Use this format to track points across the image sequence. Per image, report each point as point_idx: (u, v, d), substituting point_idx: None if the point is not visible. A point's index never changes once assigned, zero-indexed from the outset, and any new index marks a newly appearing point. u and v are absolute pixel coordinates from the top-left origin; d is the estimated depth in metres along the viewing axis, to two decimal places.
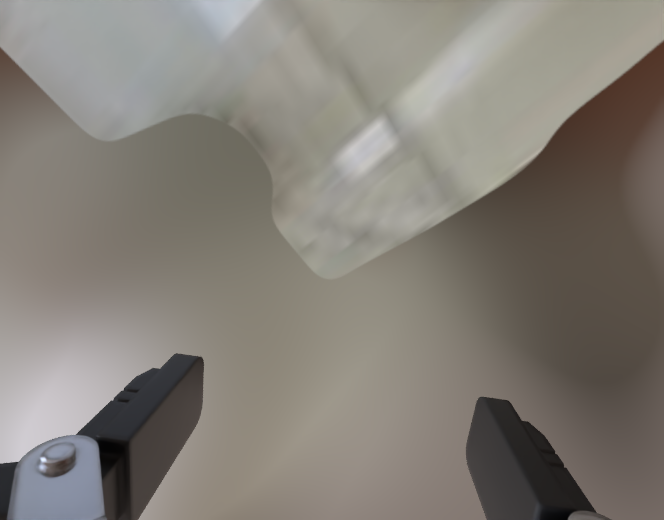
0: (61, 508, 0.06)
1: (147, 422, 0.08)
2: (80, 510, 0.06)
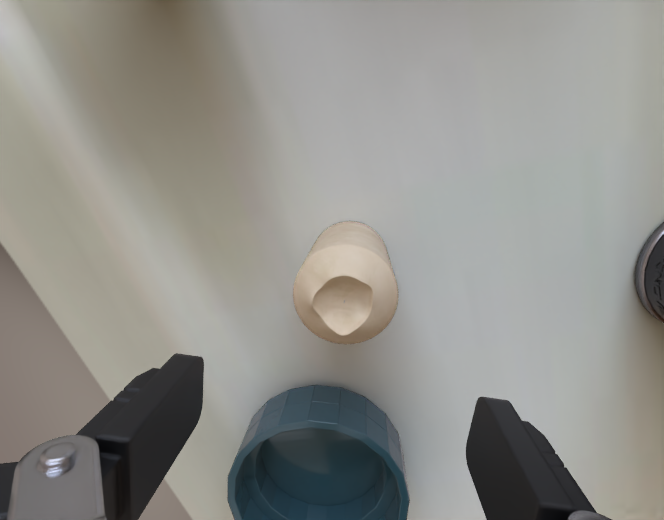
0: (61, 508, 0.06)
1: (147, 422, 0.08)
2: (80, 510, 0.06)
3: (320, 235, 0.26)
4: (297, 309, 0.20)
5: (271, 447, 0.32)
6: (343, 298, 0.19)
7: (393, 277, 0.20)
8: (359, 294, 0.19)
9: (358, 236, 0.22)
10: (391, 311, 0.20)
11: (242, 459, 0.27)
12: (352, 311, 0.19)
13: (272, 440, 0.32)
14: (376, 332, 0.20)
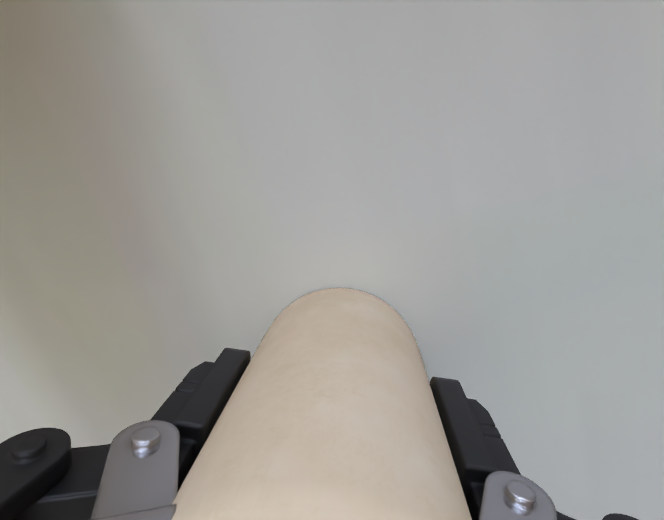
0: (142, 488, 0.06)
1: (214, 410, 0.09)
2: (177, 485, 0.06)
3: (273, 326, 0.12)
4: None
5: None
6: None
7: None
8: None
9: (358, 385, 0.07)
10: None
11: None
12: None
13: None
14: None
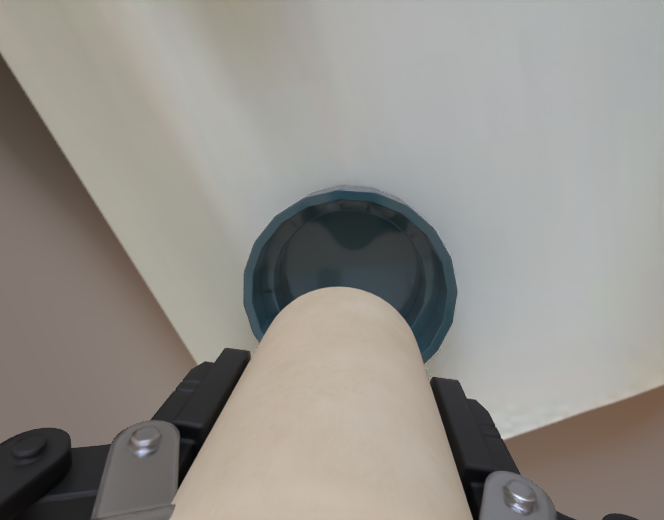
0: (142, 488, 0.06)
1: (214, 410, 0.09)
2: (177, 485, 0.06)
3: (273, 324, 0.12)
4: None
5: (291, 269, 0.28)
6: None
7: None
8: None
9: (358, 383, 0.07)
10: None
11: (261, 247, 0.23)
12: None
13: (292, 260, 0.28)
14: None
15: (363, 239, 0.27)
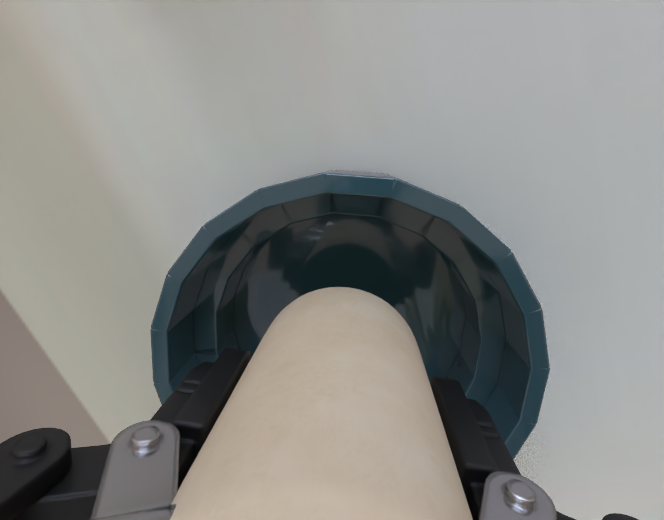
0: (142, 488, 0.06)
1: (214, 410, 0.09)
2: (177, 485, 0.06)
3: (273, 324, 0.12)
4: None
5: (251, 309, 0.17)
6: None
7: None
8: None
9: (358, 383, 0.07)
10: None
11: (179, 282, 0.12)
12: None
13: (253, 295, 0.17)
14: None
15: (370, 261, 0.16)
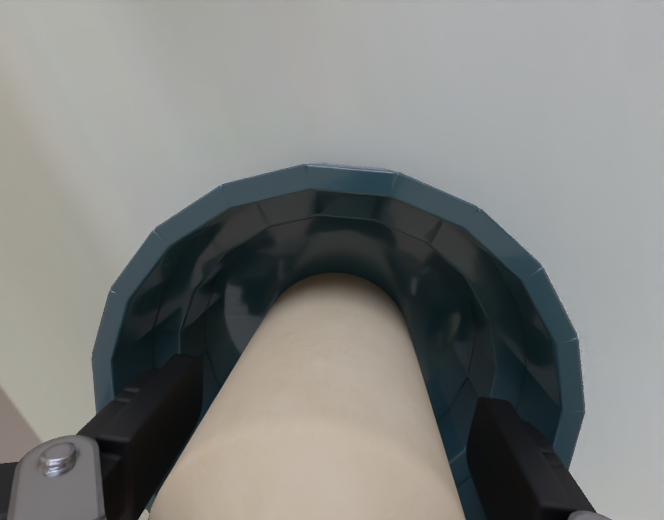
0: (61, 508, 0.06)
1: (147, 422, 0.08)
2: (80, 510, 0.06)
3: (273, 305, 0.13)
4: None
5: (226, 326, 0.15)
6: None
7: None
8: None
9: (350, 348, 0.08)
10: None
11: (125, 300, 0.10)
12: None
13: (227, 309, 0.15)
14: None
15: (364, 272, 0.14)
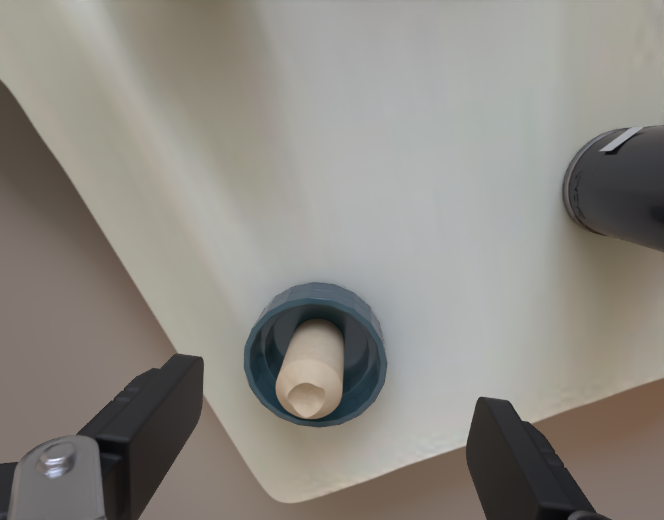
0: (61, 508, 0.06)
1: (147, 422, 0.08)
2: (80, 510, 0.06)
3: (296, 331, 0.38)
4: (278, 397, 0.32)
5: (277, 337, 0.40)
6: (307, 393, 0.31)
7: (339, 379, 0.31)
8: (317, 391, 0.31)
9: (319, 345, 0.33)
10: (338, 400, 0.31)
11: (256, 331, 0.35)
12: (312, 401, 0.31)
13: (278, 331, 0.40)
14: (328, 412, 0.31)
15: (328, 318, 0.39)
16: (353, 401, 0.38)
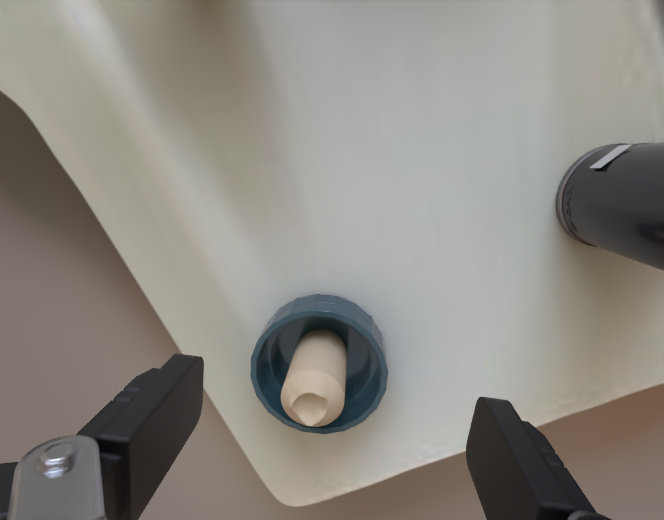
0: (61, 508, 0.06)
1: (147, 422, 0.08)
2: (80, 510, 0.06)
3: (301, 341, 0.39)
4: (283, 406, 0.33)
5: (282, 347, 0.41)
6: (310, 402, 0.32)
7: (341, 389, 0.32)
8: (320, 400, 0.32)
9: (322, 356, 0.35)
10: (340, 409, 0.33)
11: (262, 342, 0.36)
12: (316, 410, 0.32)
13: (283, 341, 0.41)
14: (331, 421, 0.33)
15: (331, 328, 0.40)
16: (356, 408, 0.39)
